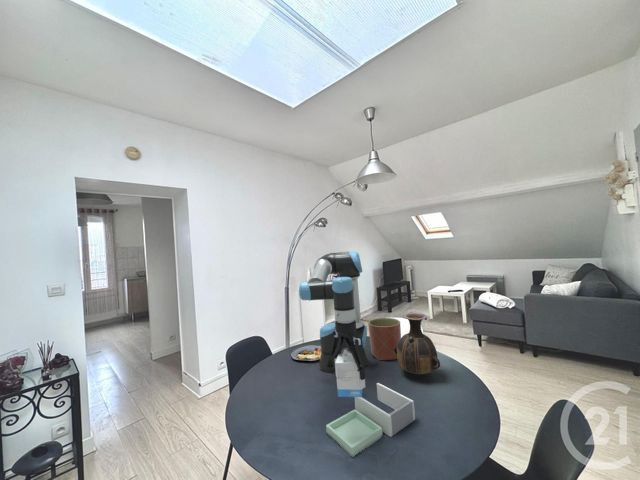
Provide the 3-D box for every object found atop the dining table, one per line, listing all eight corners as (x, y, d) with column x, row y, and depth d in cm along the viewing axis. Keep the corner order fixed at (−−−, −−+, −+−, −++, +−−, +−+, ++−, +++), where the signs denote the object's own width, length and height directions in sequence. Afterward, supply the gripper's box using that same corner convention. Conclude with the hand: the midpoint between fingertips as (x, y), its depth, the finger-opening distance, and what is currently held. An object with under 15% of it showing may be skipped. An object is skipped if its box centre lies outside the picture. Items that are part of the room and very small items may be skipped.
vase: (388, 370, 138) (384, 313, 139) (417, 361, 145) (412, 308, 146) (420, 391, 117) (414, 324, 118) (451, 379, 124) (446, 316, 125)
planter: (407, 360, 148) (404, 325, 148) (373, 363, 148) (371, 327, 149) (397, 347, 167) (395, 316, 167) (368, 349, 167) (365, 318, 168)
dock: (355, 412, 105) (354, 394, 105) (379, 398, 113) (378, 382, 113) (390, 437, 90) (389, 416, 91) (415, 419, 98) (413, 400, 99)
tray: (326, 433, 94) (326, 425, 95) (355, 416, 103) (354, 409, 103) (352, 457, 83) (351, 448, 83) (382, 436, 91) (381, 427, 91)
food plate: (335, 348, 172) (334, 343, 173) (324, 364, 150) (323, 358, 151) (300, 347, 181) (300, 342, 181) (285, 363, 159) (285, 357, 159)
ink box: (362, 398, 88) (358, 358, 89) (337, 397, 90) (334, 357, 90) (363, 384, 96) (360, 348, 97) (340, 384, 98) (338, 348, 99)
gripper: (318, 316, 102) (322, 373, 101) (360, 329, 82) (366, 399, 81) (333, 313, 106) (337, 367, 105) (377, 324, 86) (382, 391, 86)
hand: (349, 381), depth 93 cm, fingers closed on ink box, 11 cm apart
